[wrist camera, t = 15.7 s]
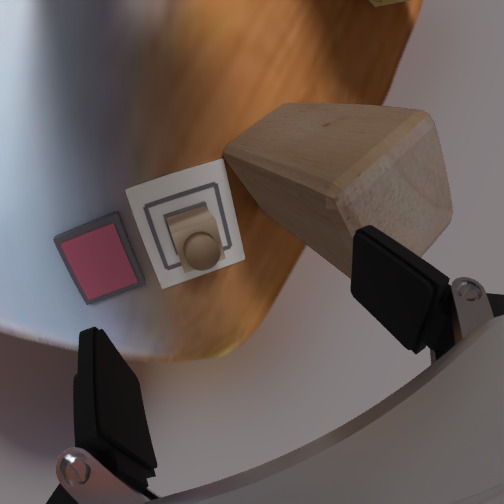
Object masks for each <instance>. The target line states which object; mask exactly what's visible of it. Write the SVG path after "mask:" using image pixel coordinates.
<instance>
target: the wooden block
mask: <svg viewBox="0 0 504 504" xmlns="http://www.w3.org/2000/svg"><path fill="white" fill-rule="evenodd" d="M223 156H224V159H225V160H226V162H227V163H228V165H229V166H230V167H231V169H232V170H233V171H234V173H235V174H236V175H237V177H238V178H239V179H240V181H241V182H242V183H243V185H244V186H245V188H246V189H247V190H248V192H249V193H250V194H251V196H252V197H253V198H254V200H255V201H256V203H257V204H258V205H259V207H260V208H261V209H262V211H263V212H264V213H265V214H266V215H268V216H269V217H270V218H272V219H273V220H275V221H276V222H277V223H279V224H280V225H281V226H283V227H284V228H285V229H287V230H288V231H289V232H291V233H292V234H293V235H295V236H296V237H297V238H299V239H300V240H301V241H303V242H304V243H305V244H306V245H308V246H309V247H310V248H312V249H313V250H314V251H316V252H317V253H318V254H320V255H321V256H322V257H323V258H325V259H326V260H327V261H329V262H330V263H331V264H332V265H334V266H335V267H336V268H338V269H339V270H340V271H341V272H343V273H344V274H345V275H347V276H348V277H349V278H351V273H352V252H353V236H354V235H355V232H356V230H358V229H360V228H362V227H365V226H367V225H372V226H374V227H375V228H377V229H379V230H380V231H382V232H383V233H385V234H386V235H388V236H389V237H391V238H392V239H394V240H395V241H397V242H398V243H400V244H401V245H403V246H404V247H406V248H407V249H409V250H410V251H412V252H413V253H415V254H416V255H418V256H419V257H422V255H423V254H424V253H425V252H426V251H427V250H428V249H429V247H430V246H431V245H432V244H433V243H434V242H435V241H436V239H437V238H438V237H439V236H440V235H441V234H442V232H443V231H444V230H445V229H446V227H447V226H448V225H449V223H450V221H451V219H452V215H453V207H452V200H451V194H450V188H449V183H448V177H447V172H446V167H445V162H444V158H443V154H442V149H441V145H440V141H439V137H438V134H437V130H436V126H435V123H434V120H433V119H432V117H431V116H430V114H428V113H426V112H425V111H422V110H414V109H407V108H398V107H389V106H377V105H364V104H344V103H287V104H283V105H281V106H280V107H279V108H277V109H276V110H274V111H273V112H271V113H270V114H269V115H267V116H266V117H264V118H263V119H262V120H260V121H259V122H257V123H256V124H255V125H253V126H252V127H251V128H249V129H248V130H247V131H245V132H244V133H243V134H241V135H240V136H239V137H237V138H236V139H235V140H233V141H232V142H231V143H229V144H228V145H227V146H226V147H225V149H224V151H223Z"/></svg>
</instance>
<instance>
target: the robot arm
mask: <svg viewBox="0 0 504 504" xmlns="http://www.w3.org/2000/svg"><path fill="white" fill-rule="evenodd" d="M449 279H450V278H448V277H447V276H446V275H444V274H443V273H441V272H440V271H439V270H437V269H436V268H435V267H433V266H432V265H431V264H429V263H427V262H426V261H425V260H423V259H422V258H421V257H419V256H418V255H416V254H415V253H413V252H412V251H410V250H409V249H407V248H406V247H404V246H403V245H401V244H400V243H398V242H397V241H395V240H394V239H392V238H391V237H389V236H388V235H386V234H385V233H383V232H382V231H380V230H379V229H377V228H375V227H374V226H372V225H367V226H365V227H362V228H360V229H358V230H356V232H355V235H354V236H353V252H352V273H351V293H352V295H353V297H354V298H355V299H356V300H357V301H358V302H359V303H360V304H362V306H364V307H365V308H366V309H367V310H368V311H369V312H370V313H371V314H372V315H373V316H374V317H375V318H376V319H377V320H378V321H379V322H380V323H381V324H382V325H383V326H384V327H385V328H386V329H387V330H388V331H389V332H390V333H391V334H392V335H393V336H394V337H395V338H396V339H397V340H398V341H399V342H400V343H401V344H402V345H403V346H404V347H405V348H407V349H408V350H412V351H413V352H414V353H415V354H417V353H419V352H420V351H421V350H423V349H424V348H425V347H426V345H427V346H428V347H429V348H430V355H431V366H429V367H428V368H427V369H425V370H424V371H423V372H422V373H420V374H419V375H418V376H416V377H415V378H414V379H412V380H411V381H410V382H408V383H407V384H406V385H404V386H403V387H401V388H400V389H399V390H397V391H396V392H394V393H393V394H391V395H390V396H388V397H387V398H386V399H384V400H383V401H381V402H380V403H378V404H377V405H375V406H373V407H372V408H370V409H369V410H367V411H365V412H364V413H362V414H361V415H359V416H357V417H356V418H354V419H353V420H351V421H349V422H347V423H346V424H344V425H342V426H340V427H338V428H337V429H335V430H333V431H331V432H329V433H328V434H326V435H324V436H322V437H320V438H318V439H316V440H314V441H312V442H310V443H308V444H307V445H305V446H302V447H301V448H298V449H296V450H294V451H292V452H290V453H288V454H285V455H283V456H281V457H279V458H277V459H274V460H272V461H269V462H267V463H264V464H262V465H260V466H257V467H255V468H252V469H249V470H247V471H244V472H241V473H239V474H236V475H233V476H230V477H227V478H224V479H222V480H219V481H216V482H213V483H210V484H207V485H203V486H200V487H197V488H194V489H190V490H187V491H183V492H180V493H175V494H172V495H169V496H165V497H160V496H159V495H157V494H156V493H154V492H153V491H152V490H150V489H149V488H147V487H148V482H147V479H146V478H150V477H154V476H156V475H155V471H154V468H157V461H156V457H155V454H154V450H153V446H152V442H151V438H150V433H149V429H148V425H147V420H146V416H145V410H144V406H143V400H142V395H141V390H140V384H139V381H138V379H137V377H136V375H135V374H134V372H133V371H132V370H131V368H130V367H129V366H128V365H127V363H126V362H125V360H124V359H123V358H122V356H121V355H120V353H119V352H118V351H117V349H116V348H115V346H114V345H113V343H112V342H111V340H110V339H109V337H108V336H107V334H106V333H105V331H104V330H103V329H100V330H98V328H96V327H92V328H89V329H86V330H84V331H81V332H80V334H79V349H78V374H76V375H75V377H74V386H73V387H74V388H73V391H74V392H73V397H74V398H73V403H74V433H75V448H70V449H67V450H65V451H64V452H63V453H62V454H61V455H60V457H59V458H58V460H57V464H56V474H57V478H58V480H59V482H60V484H59V485H58V487H57V488H56V490H55V491H54V492H53V494H52V495H51V497H50V498H49V500H48V501H47V503H46V504H504V295H500V294H489V293H486V292H485V290H484V288H483V286H482V285H481V284H480V283H479V282H477V281H475V280H474V279H471V278H467V277H461V278H457V279H455V280H454V281H453V282H452V285H451V286H450V285H449V284H448V282H449Z"/></svg>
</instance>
